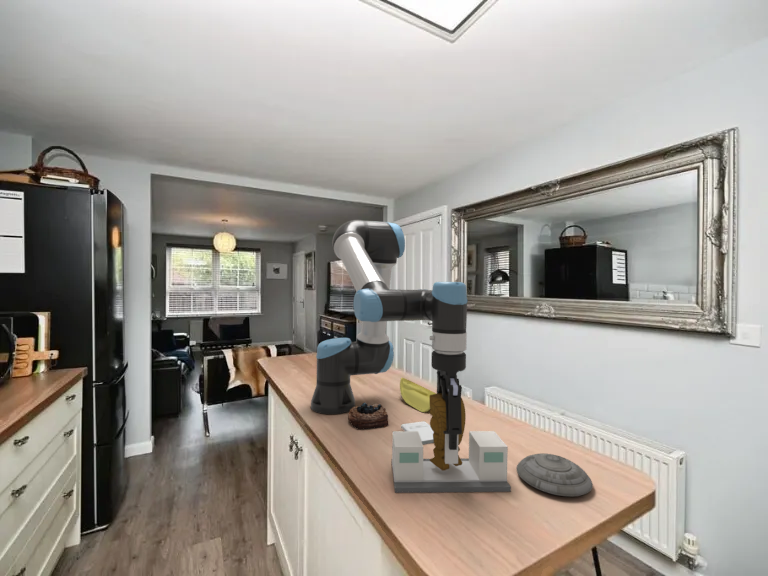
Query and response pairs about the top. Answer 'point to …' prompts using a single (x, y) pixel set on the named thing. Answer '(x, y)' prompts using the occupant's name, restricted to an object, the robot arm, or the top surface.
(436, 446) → the figurine
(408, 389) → the plastic component
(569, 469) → the flying saucer
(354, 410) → the pastry
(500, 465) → the rail board
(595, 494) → the top surface
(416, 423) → the external hard drive
